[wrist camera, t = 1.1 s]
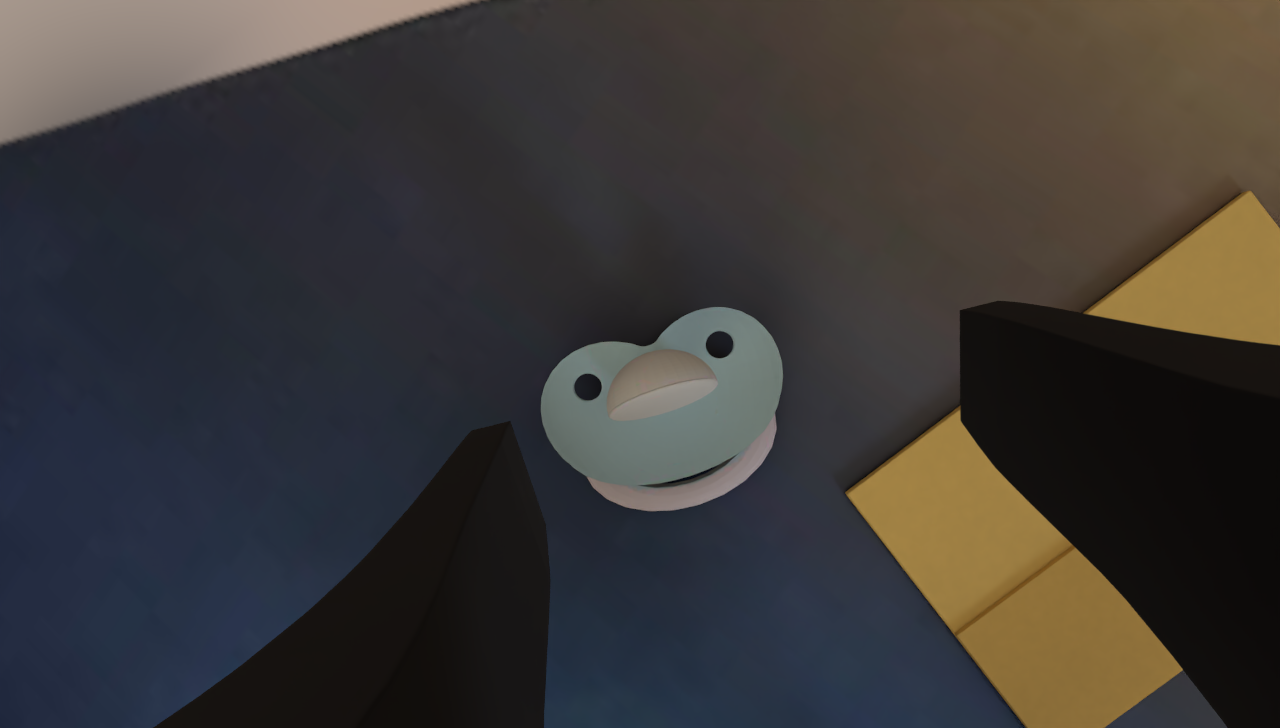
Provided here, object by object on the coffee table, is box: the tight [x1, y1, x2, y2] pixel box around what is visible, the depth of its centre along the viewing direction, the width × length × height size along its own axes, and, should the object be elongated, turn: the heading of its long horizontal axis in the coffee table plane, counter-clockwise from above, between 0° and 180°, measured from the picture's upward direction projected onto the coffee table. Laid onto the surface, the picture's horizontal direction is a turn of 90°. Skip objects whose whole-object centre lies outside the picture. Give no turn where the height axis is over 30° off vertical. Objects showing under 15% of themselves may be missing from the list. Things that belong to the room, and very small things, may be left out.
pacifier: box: [541, 307, 783, 511], centre depth 20 cm, size 7×6×6 cm
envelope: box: [845, 191, 1280, 728], centre depth 22 cm, size 16×11×1 cm
